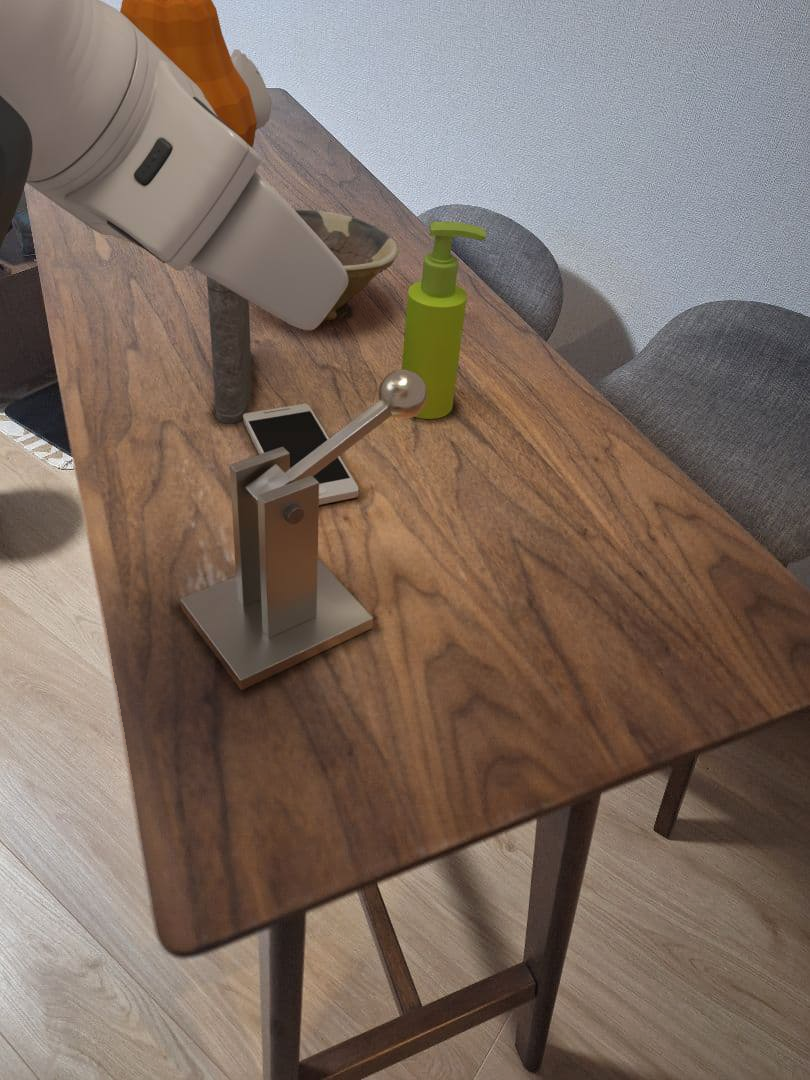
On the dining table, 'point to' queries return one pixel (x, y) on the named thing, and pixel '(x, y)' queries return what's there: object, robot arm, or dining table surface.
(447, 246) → the soap dispenser
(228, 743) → the dining table surface
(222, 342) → the flask
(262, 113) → the toy character
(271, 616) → the metal pivot stand
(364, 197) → the dining table surface
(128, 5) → the decorative pumpkin
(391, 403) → the lever
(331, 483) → the smartphone
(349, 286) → the bowl
